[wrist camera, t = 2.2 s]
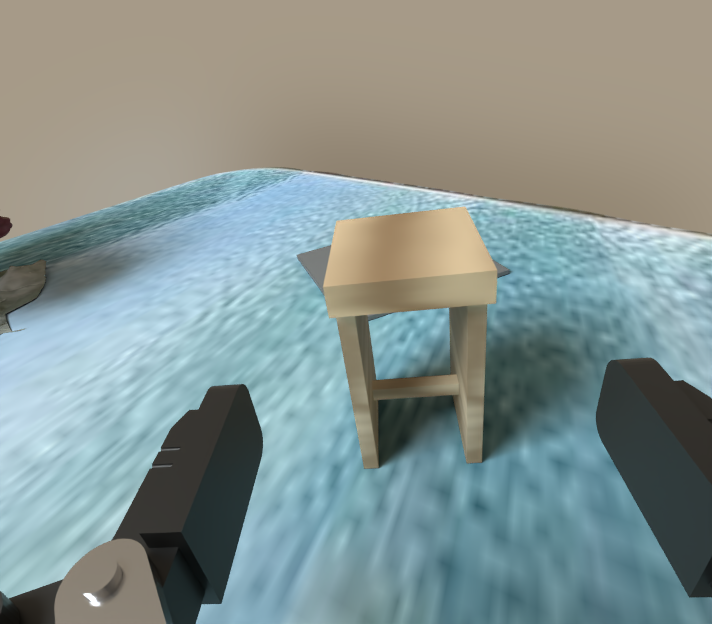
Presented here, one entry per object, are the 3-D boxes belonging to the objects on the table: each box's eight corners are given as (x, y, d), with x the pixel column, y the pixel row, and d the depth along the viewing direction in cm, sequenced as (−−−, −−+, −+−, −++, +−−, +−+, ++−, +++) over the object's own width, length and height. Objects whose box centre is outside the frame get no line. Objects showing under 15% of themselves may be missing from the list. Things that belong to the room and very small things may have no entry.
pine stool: (464, 380, 29) (465, 206, 23) (487, 471, 23) (497, 270, 17) (363, 387, 30) (336, 221, 24) (360, 478, 24) (323, 287, 18)
